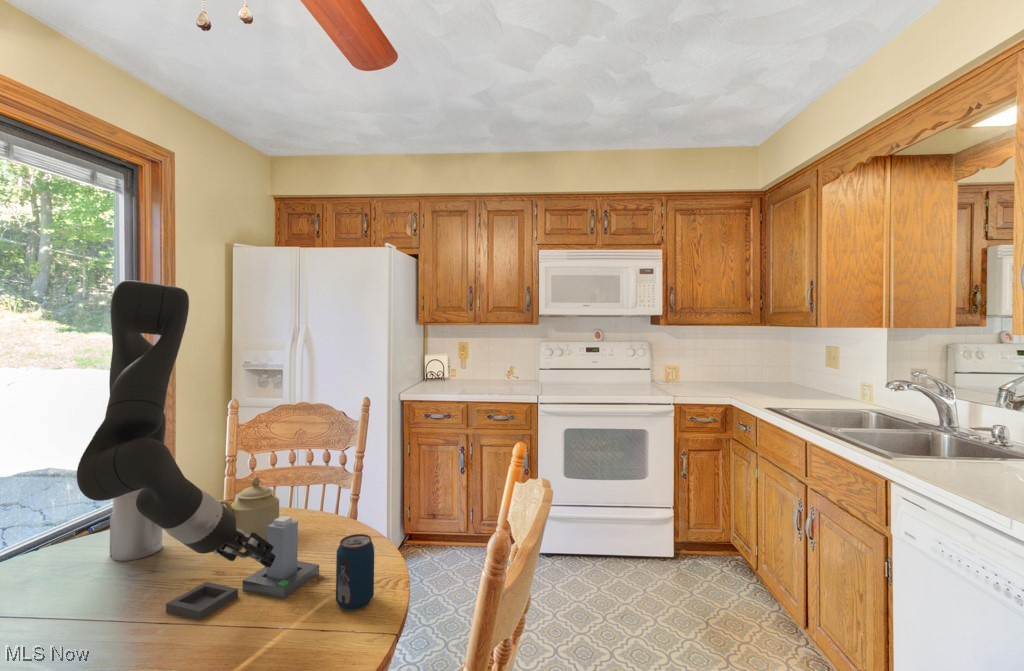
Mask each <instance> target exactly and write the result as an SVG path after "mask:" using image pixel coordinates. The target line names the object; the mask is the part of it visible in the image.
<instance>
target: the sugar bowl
mask: <svg viewBox="0 0 1024 671" xmlns="http://www.w3.org/2000/svg"><path fill="white" fill-rule="evenodd" d="M260 484H261V479H260V477H259V476H254V477H253V478H252V479H251V485H252V486H249V487H246V488H244V489H243V490H241V491H240V492H239V493H237V495H236V497H237V500H236V501H233V502H232V503H230V501H228V500H227V499H226V500H225V499H219V500H217V501H219V502H220V503H221V504H222V505H224V506H225V507H226V508H228V509H229V510H230V511H231V512H233V513H234V515H235V517H236V528H239V529H241V530H243V532H244V533H246V534H248V535H250V534H251V533H256V534H257V535H258V536H260V537H261V538H263V539H264V540H265V541H266V540H267V526H268V525H270V524H272V523H274V520H275V519H277V518H279V517H280V498H279V497H278V496H274V495H273V494H275V490H274V489H272V488H270V487H268V486H267V485H266V486H265V485H260Z"/></svg>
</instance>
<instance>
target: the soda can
mask: <svg viewBox="0 0 1024 671" xmlns="http://www.w3.org/2000/svg"><path fill="white" fill-rule="evenodd" d="M335 560H336V562H335V565H336V566H335V567H336V568H335V602H336V603H337V605H338V606H339V608H340V609H341V610H342V611H346V612H356V611H359V610H362V609H364V608H366V607H367V606H368V605H369V604H370V602H371V601H372V599H373V597H374V595H375V592H374V591H375V545H374V543H373V541H372V537H371V536H370V535H368V534H364V533H357V534H350V535H347V536H345V537H343V538H342V539H341V540H340V541H339V545H338V548H337V549H336V559H335Z"/></svg>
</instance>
